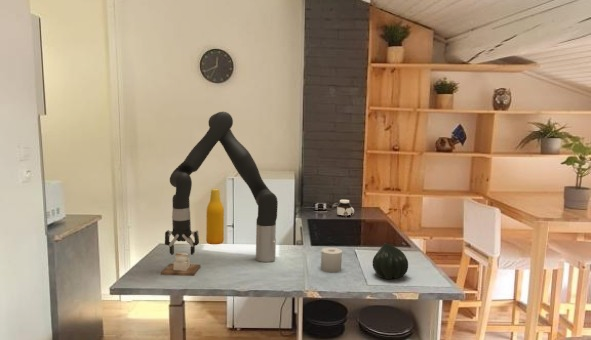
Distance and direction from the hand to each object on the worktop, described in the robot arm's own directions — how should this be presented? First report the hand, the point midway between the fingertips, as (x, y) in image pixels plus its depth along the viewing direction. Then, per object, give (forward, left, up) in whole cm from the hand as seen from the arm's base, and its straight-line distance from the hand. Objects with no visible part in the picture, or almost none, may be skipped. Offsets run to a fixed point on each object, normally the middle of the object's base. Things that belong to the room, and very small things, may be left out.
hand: (182, 254), depth 179 cm
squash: (-91, -2, -8) cm, 91 cm away
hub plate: (0, 0, -7) cm, 7 cm away
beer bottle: (-5, -44, -8) cm, 45 cm away
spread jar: (-83, -120, -8) cm, 146 cm away
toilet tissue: (-65, -10, -8) cm, 67 cm away
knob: (0, 0, -6) cm, 6 cm away
